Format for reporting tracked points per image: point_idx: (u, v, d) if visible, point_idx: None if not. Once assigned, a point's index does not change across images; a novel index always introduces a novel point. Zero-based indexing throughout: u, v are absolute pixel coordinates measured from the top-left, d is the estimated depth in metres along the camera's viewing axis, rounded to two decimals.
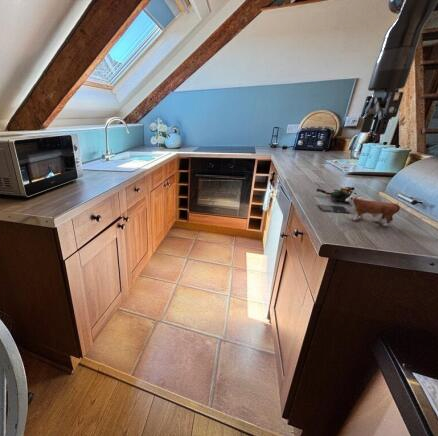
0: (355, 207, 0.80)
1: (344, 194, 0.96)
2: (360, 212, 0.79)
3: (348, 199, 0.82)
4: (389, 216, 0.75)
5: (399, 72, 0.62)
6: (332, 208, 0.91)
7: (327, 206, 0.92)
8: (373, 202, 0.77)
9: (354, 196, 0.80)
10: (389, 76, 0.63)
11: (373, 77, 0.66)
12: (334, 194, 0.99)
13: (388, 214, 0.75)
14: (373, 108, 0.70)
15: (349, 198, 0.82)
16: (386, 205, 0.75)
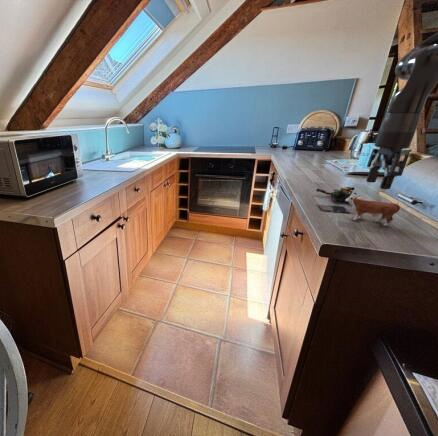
0: (355, 207, 0.80)
1: (344, 194, 0.96)
2: (360, 212, 0.79)
3: (348, 199, 0.82)
4: (389, 216, 0.75)
5: (404, 135, 0.67)
6: (332, 208, 0.91)
7: (327, 206, 0.92)
8: (373, 202, 0.77)
9: (354, 196, 0.80)
10: (395, 138, 0.68)
11: (380, 136, 0.71)
12: (334, 194, 0.99)
13: (388, 214, 0.75)
14: (379, 162, 0.74)
15: (349, 198, 0.82)
16: (386, 205, 0.75)
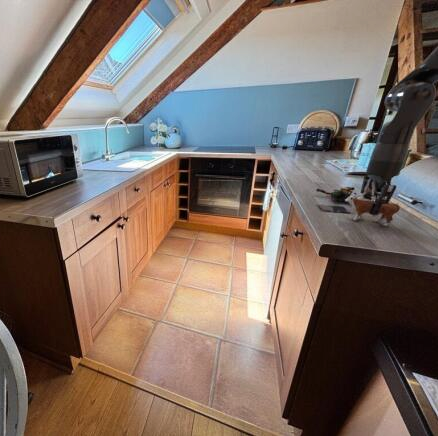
0: (355, 207, 0.80)
1: (344, 194, 0.96)
2: (360, 212, 0.79)
3: (348, 199, 0.82)
4: (389, 216, 0.75)
5: (394, 164, 0.70)
6: (332, 208, 0.91)
7: (327, 206, 0.92)
8: None
9: (354, 196, 0.80)
10: (385, 167, 0.71)
11: (371, 163, 0.74)
12: (334, 194, 0.99)
13: (388, 214, 0.75)
14: (372, 188, 0.76)
15: (349, 198, 0.81)
16: (386, 205, 0.75)
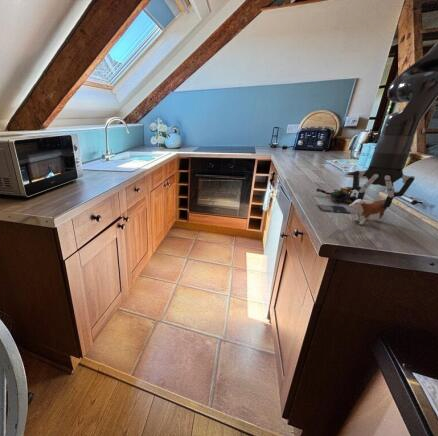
0: (363, 212, 0.76)
1: (344, 194, 0.96)
2: (368, 215, 0.76)
3: (355, 205, 0.76)
4: (383, 212, 0.78)
5: (407, 156, 0.69)
6: (332, 208, 0.91)
7: (327, 206, 0.92)
8: (376, 203, 0.76)
9: (362, 201, 0.75)
10: (405, 159, 0.68)
11: (390, 158, 0.69)
12: (334, 194, 0.99)
13: (384, 210, 0.78)
14: (379, 182, 0.74)
15: (357, 204, 0.76)
16: (383, 203, 0.77)
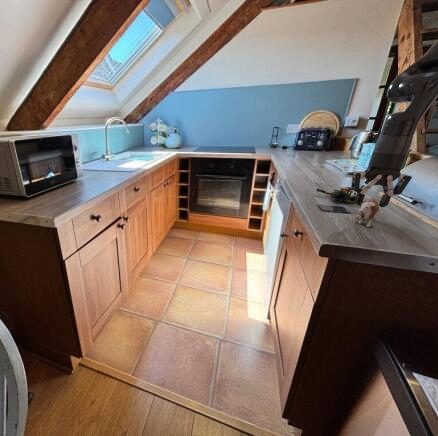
0: (370, 214, 0.75)
1: (344, 194, 0.96)
2: (373, 217, 0.76)
3: (365, 209, 0.73)
4: None
5: None
6: (332, 208, 0.91)
7: (327, 206, 0.92)
8: (374, 203, 0.76)
9: (370, 204, 0.73)
10: None
11: (397, 158, 0.68)
12: (334, 194, 0.99)
13: None
14: (380, 182, 0.74)
15: (367, 208, 0.73)
16: (376, 202, 0.78)
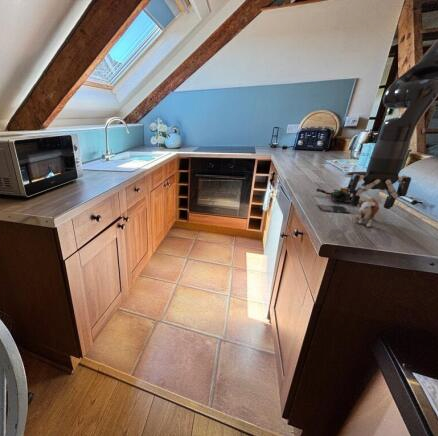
0: (370, 214, 0.75)
1: (344, 194, 0.96)
2: (373, 216, 0.76)
3: (365, 209, 0.73)
4: None
5: None
6: (332, 208, 0.91)
7: (327, 206, 0.92)
8: (374, 203, 0.76)
9: (370, 204, 0.73)
10: (402, 163, 0.71)
11: (395, 163, 0.69)
12: (334, 194, 0.99)
13: None
14: (376, 187, 0.75)
15: (367, 207, 0.73)
16: (376, 201, 0.78)
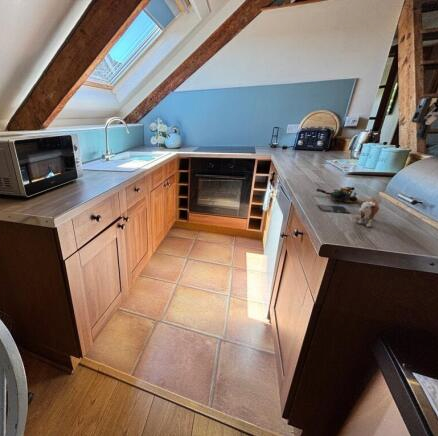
0: (370, 214, 0.75)
1: (344, 194, 0.96)
2: (373, 216, 0.76)
3: (365, 209, 0.73)
4: None
5: None
6: (332, 208, 0.91)
7: (327, 206, 0.92)
8: (374, 203, 0.76)
9: (370, 204, 0.73)
10: None
11: None
12: (334, 194, 0.99)
13: None
14: None
15: (367, 207, 0.73)
16: (376, 201, 0.78)
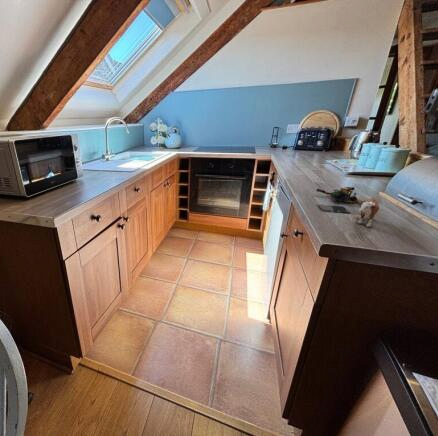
0: (370, 214, 0.75)
1: (344, 194, 0.96)
2: (373, 216, 0.76)
3: (365, 209, 0.73)
4: None
5: None
6: (332, 208, 0.91)
7: (327, 206, 0.92)
8: (374, 203, 0.76)
9: (370, 204, 0.73)
10: None
11: None
12: (334, 194, 0.99)
13: None
14: None
15: (367, 207, 0.73)
16: (376, 201, 0.78)
